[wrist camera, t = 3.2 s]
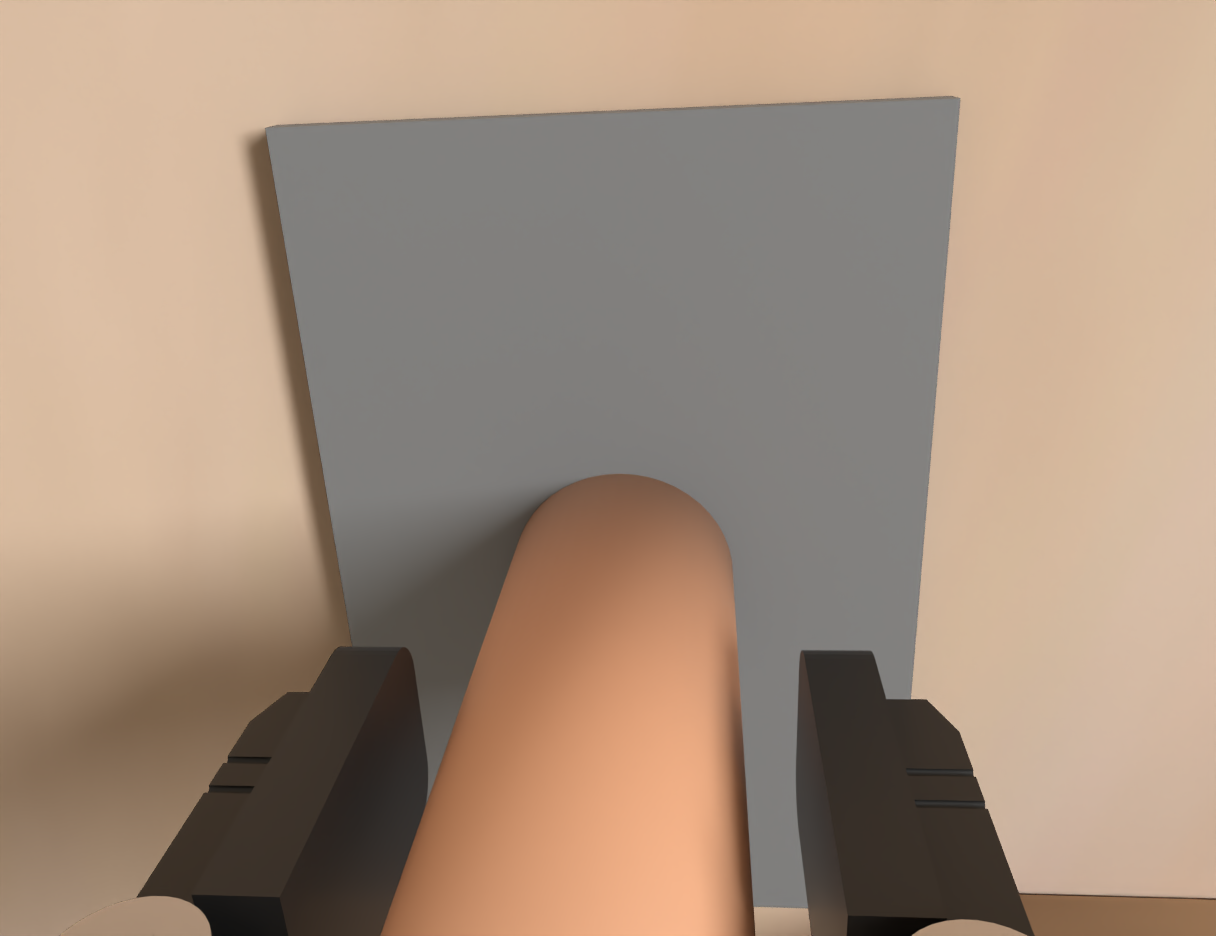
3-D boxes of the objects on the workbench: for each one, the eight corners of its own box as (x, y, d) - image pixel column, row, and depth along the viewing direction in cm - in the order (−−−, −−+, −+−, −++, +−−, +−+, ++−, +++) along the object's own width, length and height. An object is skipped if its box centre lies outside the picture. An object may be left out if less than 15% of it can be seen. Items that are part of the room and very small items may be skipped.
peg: (505, 474, 14) (116, 1379, 5) (733, 472, 13) (806, 1434, 4) (523, 665, 15) (241, 1693, 6) (732, 666, 15) (789, 1747, 5)
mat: (278, 124, 13) (265, 128, 12) (951, 95, 12) (960, 98, 11) (401, 877, 17) (393, 896, 17) (889, 890, 16) (893, 910, 16)
